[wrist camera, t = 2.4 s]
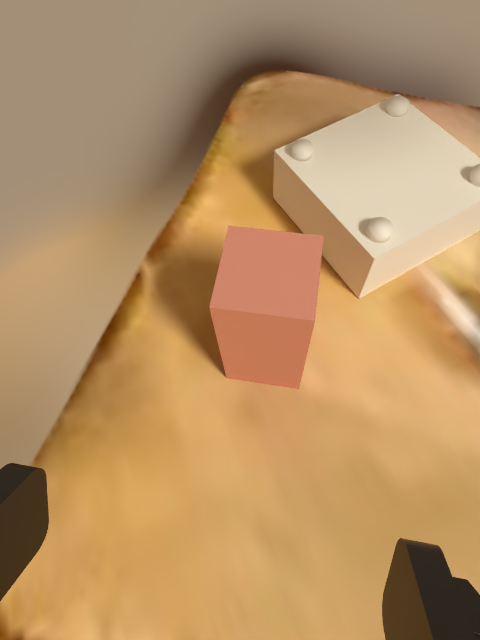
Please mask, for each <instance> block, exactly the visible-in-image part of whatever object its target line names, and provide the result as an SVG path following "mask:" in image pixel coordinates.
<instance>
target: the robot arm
mask: <svg viewBox="0 0 480 640" xmlns="http://www.w3.org/2000/svg"><path fill="white" fill-rule="evenodd" d="M48 524H49V516H48V498H47V481H46V473H45V471H44V470H43V469H41V468H36V467H31V466H25V465H20V464H14V463H10V464H7V465H5V466H4V467H3V468H2V469H0V601H1V600H2V598H3V597H4V596H5V594H6V593H7V592H8V590H9V589H10V588H11V586H12V585H13V584H14V582H15V581H16V580H17V578H18V577H19V576H20V574H21V573H22V572H23V570H24V569H25V568H26V566H27V565H28V564H29V562H30V561H31V560H32V558H33V557H34V556H35V554H36V553H37V552H38V550H39V549H40V547H41V545H42V543H43V541H44V539H45V536H46V533H47V530H48ZM382 617H383V627H384V633H385V638H386V640H480V595H479V594H478V592H477V591H476V590H475V589H474V587H473V586H472V585H471V584H470V583H469V581H468V580H465V579H460V578H455V577H452V575H451V572H450V570H449V567H448V565H447V562H446V559H445V557H444V554H443V552H442V550H441V548H440V547H439V546H437V545H433V544H428V543H423V542H418V541H412V540H407V539H402V538H400V539H399V540H398V542H397V544H396V548H395V551H394V555H393V559H392V563H391V566H390V570H389V574H388V578H387V581H386V585H385V589H384V593H383V603H382Z"/></svg>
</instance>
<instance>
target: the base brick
mask: <svg viewBox="0 0 480 640" xmlns="http://www.w3.org/2000/svg"><path fill="white" fill-rule="evenodd" d="M273 198H274V200H275V201H276V202H277V203H278V204H279V205H280V207H281V208H282V209H283V210H284V211H285V213H286V214H287V215H288V216H289V217H290V218H291V220H292V221H293V222H294V223H295V224H296V225H297V227H298V228H299V229H300V230H301V231H302V233H303V234H313V235H322V236H324V238H323V247H322V256H323V257H324V259H325V260H326V261H327V262H328V263H329V264H330V266H331V267H332V268H333V269H334V270H335V271H336V273H337V274H338V275H339V276H340V277H341V279H342V280H343V281H344V282H345V283H346V284H347V286H348V287H349V288H350V289H351V290H352V292H353V293H354V294H355V295H356V296H357V297H358V299H359V298H361V297H363V296H364V295H366V294H368V293H370V292H371V291H373V290H375V289H377V288H379V287H380V286H382V285H384V284H386V283H388V282H389V281H391V280H393V279H395V278H396V277H398V276H400V275H402V274H404V273H405V272H407V271H409V270H411V269H412V268H414V267H416V266H418V265H420V264H421V263H423V262H425V261H427V260H429V259H430V258H432V257H434V256H436V255H437V254H439V253H441V252H443V251H445V250H446V249H448V248H450V247H452V246H453V245H455V244H457V243H459V242H461V241H462V240H464V239H466V238H468V237H470V236H471V235H473V234H475V233H477V232H478V231H480V158H479V157H478V156H477V155H475V154H474V153H473V152H472V151H470V150H469V149H468V148H467V147H465V146H464V145H463V144H461V143H460V142H459V141H458V140H456V139H455V138H454V137H453V136H451V135H450V134H449V133H447V132H446V131H445V130H444V129H442V128H441V127H440V126H439V125H437V124H436V123H435V122H434V121H432V120H431V119H430V118H428V117H427V116H426V115H425V114H423V113H422V112H421V111H420V110H418V109H417V108H416V107H414V106H413V105H412V104H411V103H409V101H408V99H407V98H405V97H402V96H401V95H399V94H397V95H395V96H393V97H391V98H388V99H386V100H384V101H382V102H379V103H377V104H375V105H373V106H371V107H368V108H366V109H364V110H362V111H360V112H357V113H355V114H353V115H351V116H349V117H346V118H344V119H342V120H340V121H338V122H335V123H333V124H331V125H329V126H327V127H324V128H322V129H320V130H318V131H315V132H313V133H311V134H309V135H307V136H304V137H302V138H300V139H298V140H296V141H293V142H291V143H289V144H287V145H285V146H282V147H280V148H278V149H276V150H274V178H273Z"/></svg>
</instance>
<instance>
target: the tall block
mask: <svg viewBox="0 0 480 640" xmlns="http://www.w3.org/2000/svg"><path fill="white" fill-rule="evenodd" d="M323 238H324V236H322V235H313V234H303V233H293V232H283V231H274V230H264V229H254V228H245V227H235V226H228V231H227V235H226V239H225V243H224V247H223V252H222V256H221V260H220V264H219V268H218V272H217V277H216V281H215V285H214V289H213V293H212V297H211V302H210V306H209V309H210V313H211V317H212V321H213V325H214V329H215V333H216V337H217V341H218V346H219V350H220V354H221V358H222V362H223V366H224V370H225V374H226V378H230V379H236V380H243V381H250V382H256V383H263V384H270V385H276V386H283V387H289V388H296V389H299V386H300V382H301V377H302V373H303V369H304V365H305V360H306V356H307V352H308V348H309V343H310V339H311V335H312V331H313V327H314V322H315V314H316V305H317V295H318V286H319V276H320V267H321V257H322V247H323Z"/></svg>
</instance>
